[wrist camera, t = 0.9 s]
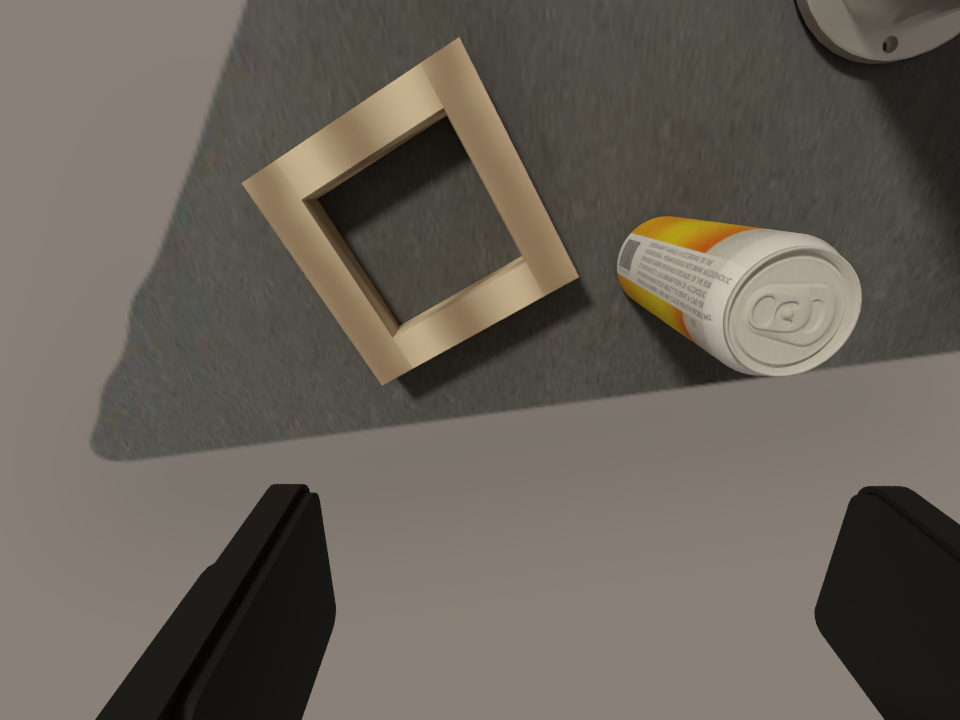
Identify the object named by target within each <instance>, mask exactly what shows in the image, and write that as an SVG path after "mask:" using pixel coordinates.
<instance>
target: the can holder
mask: <svg viewBox="0 0 960 720" xmlns="http://www.w3.org/2000/svg"><path fill="white" fill-rule="evenodd" d="M445 116H447V117H448V119H449V121H450V122H451V124H452V126H453V128H454V130H455V132H456V134H457V136H458V137H459V139H460V141H461V143H462V145H463V147H464V149H465V151H466V152H467V154H468V156H469V158H470V160H471V162H472V164H473V166H474V167H475V169H476V171H477V173H478V175H479V177H480V179H481V181H482V182H483V184H484V186H485V188H486V190H487V192H488V194H489V196H490V197H491V199H492V201H493V203H494V205H495V207H496V209H497V211H498V212H499V214H500V216H501V218H502V220H503V222H504V224H505V226H506V227H507V229H508V231H509V233H510V235H511V237H512V239H513V241H514V242H515V244H516V246H517V248H518V250H519V252H520V254H521V257H519V258H518V259H516V260H514V261H512V262H511V263H509V264H507V265H505V266H504V267H502V268H500V269H498V270H497V271H495V272H493V273H491V274H490V275H488V276H486V277H484V278H483V279H481V280H479V281H477V282H476V283H474V284H472V285H470V286H469V287H467V288H465V289H463V290H462V291H460V292H458V293H456V294H455V295H453V296H451V297H449V298H448V299H446V300H444V301H442V302H441V303H439V304H437V305H435V306H434V307H432V308H430V309H428V310H426V311H425V312H423V313H421V314H419V315H418V316H416V317H414V318H412V319H411V320H409V321H407V322H405V323H404V324H402V325H400V326H399V324H398V323H397V321H396V319H395V318H394V316H393V315H392V313H391V312H390V310H389V309H388V307H387V306H386V304H385V303H384V301H383V299H382V298H381V296H380V295H379V293H378V292H377V290H376V289H375V287H374V286H373V284H372V283H371V281H370V280H369V278H368V276H367V275H366V273H365V272H364V270H363V269H362V267H361V266H360V264H359V263H358V261H357V260H356V258H355V256H354V255H353V253H352V252H351V250H350V249H349V247H348V246H347V244H346V243H345V241H344V240H343V238H342V237H341V235H340V233H339V232H338V230H337V229H336V227H335V226H334V224H333V223H332V221H331V220H330V218H329V217H328V215H327V213H326V212H325V210H324V209H323V207H322V206H321V204H320V203H319V201H318V200H317V199H318V198H319V197H321V196H322V195H324V194H326V193H327V192H329V191H330V190H332V189H333V188H335V187H336V186H338V185H340V184H341V183H343V182H344V181H346V180H347V179H349V178H350V177H352V176H354V175H355V174H357V173H358V172H360V171H361V170H363V169H364V168H366V167H367V166H369V165H371V164H372V163H374V162H375V161H377V160H378V159H380V158H381V157H383V156H385V155H386V154H388V153H389V152H391V151H392V150H394V149H395V148H397V147H399V146H400V145H402V144H403V143H405V142H406V141H408V140H409V139H411V138H413V137H414V136H416V135H417V134H419V133H420V132H422V131H423V130H425V129H426V128H428V127H430V126H431V125H433V124H434V123H436V122H437V121H439V120H440V119H442V118H444V117H445ZM242 184H243V186H244V187H245V189H246V190H247V192H248V193H249V194H250V196H251V197H252V199H253V200H254V202H255V203H256V204H257V206H258V207H259V209H260V210H261V212H262V213H263V215H264V216H265V217H266V219H267V220H268V222H269V223H270V225H271V226H272V228H273V229H274V230H275V232H276V233H277V235H278V236H279V238H280V239H281V241H282V242H283V243H284V245H285V246H286V248H287V249H288V251H289V252H290V253H291V255H292V256H293V258H294V259H295V261H296V262H297V264H298V265H299V266H300V268H301V269H302V271H303V272H304V274H305V275H306V277H307V278H308V279H309V281H310V282H311V284H312V285H313V287H314V288H315V289H316V291H317V292H318V294H319V295H320V297H321V298H322V300H323V301H324V302H325V304H326V305H327V307H328V308H329V310H330V311H331V313H332V314H333V315H334V317H335V318H336V320H337V321H338V323H339V324H340V325H341V327H342V328H343V330H344V331H345V333H346V334H347V336H348V337H349V338H350V340H351V341H352V343H353V344H354V346H355V347H356V349H357V350H358V351H359V353H360V354H361V356H362V357H363V359H364V360H365V361H366V363H367V364H368V366H369V367H370V369H371V370H372V372H373V373H374V374H375V376H376V377H377V379H378V380H379V382H380V383H381V385H384V384H386V383H388V382H389V381H391V380H393V379H395V378H397V377H399V376H400V375H402V374H404V373H406V372H408V371H409V370H411V369H413V368H415V367H417V366H419V365H420V364H422V363H424V362H426V361H428V360H429V359H431V358H433V357H435V356H437V355H438V354H440V353H442V352H444V351H446V350H448V349H449V348H451V347H453V346H455V345H457V344H458V343H460V342H462V341H464V340H466V339H468V338H469V337H471V336H473V335H475V334H477V333H478V332H480V331H482V330H484V329H486V328H487V327H489V326H491V325H493V324H495V323H497V322H498V321H500V320H502V319H504V318H506V317H507V316H509V315H511V314H513V313H515V312H517V311H518V310H520V309H522V308H524V307H526V306H527V305H529V304H531V303H533V302H535V301H536V300H538V299H540V298H542V297H544V296H546V295H547V294H549V293H551V292H553V291H555V290H556V289H558V288H560V287H562V286H564V285H566V284H567V283H569V282H571V281H573V280H575V279H576V278H578V277H579V276H578V274H577V272H576V270H575V268H574V266H573V264H572V262H571V260H570V258H569V256H568V254H567V252H566V250H565V248H564V246H563V244H562V242H561V240H560V238H559V236H558V234H557V232H556V230H555V228H554V226H553V224H552V222H551V220H550V218H549V216H548V214H547V212H546V210H545V208H544V206H543V204H542V202H541V200H540V198H539V196H538V194H537V192H536V190H535V188H534V186H533V184H532V182H531V180H530V178H529V176H528V174H527V172H526V170H525V168H524V166H523V164H522V162H521V160H520V158H519V156H518V154H517V152H516V150H515V148H514V146H513V144H512V142H511V140H510V138H509V136H508V134H507V132H506V130H505V128H504V126H503V124H502V122H501V120H500V118H499V116H498V114H497V112H496V110H495V108H494V106H493V104H492V102H491V100H490V98H489V96H488V94H487V92H486V90H485V88H484V86H483V84H482V82H481V80H480V78H479V76H478V74H477V72H476V70H475V68H474V66H473V64H472V62H471V60H470V58H469V56H468V54H467V52H466V50H465V48H464V46H463V44H462V42H461V40H460V38H457V39H456V40H454V41H453V42H451V43H450V44H448V45H447V46H445V47H444V48H442V49H441V50H439V51H438V52H436V53H435V54H433V55H432V56H430V57H429V58H427V59H426V60H424V61H423V62H421V63H420V64H419V65H417V66H416V67H414V68H413V69H411V70H410V71H408V72H407V73H405V74H404V75H402V76H401V77H399V78H398V79H396V80H395V81H393V82H392V83H390V84H389V85H387V86H386V87H384V88H383V89H381V90H380V91H378V92H377V93H375V94H374V95H372V96H371V97H369V98H368V99H366V100H365V101H363V102H362V103H360V104H359V105H357V106H356V107H355V108H353V109H352V110H350V111H349V112H347V113H346V114H344V115H343V116H341V117H340V118H338V119H337V120H335V121H334V122H332V123H331V124H329V125H328V126H326V127H325V128H323V129H322V130H320V131H319V132H317V133H316V134H314V135H313V136H311V137H310V138H308V139H307V140H305V141H304V142H302V143H301V144H299V145H298V146H296V147H295V148H293V149H292V150H291V151H289V152H288V153H286V154H285V155H283V156H282V157H280V158H279V159H277V160H276V161H274V162H273V163H271V164H270V165H268V166H267V167H265V168H264V169H262V170H261V171H259V172H258V173H256V174H255V175H253V176H252V177H250V178H249V179H247V180H246V181H244V182H243V183H242Z"/></svg>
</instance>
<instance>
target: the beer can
mask: <svg viewBox="0 0 960 720" xmlns="http://www.w3.org/2000/svg"><path fill="white" fill-rule="evenodd" d="M617 274H618V279H619V282H620V284H621V287H622V288H623V290H624V292H625V293H626V294H627V295H628V296H629V297H630V298H631V299H632V300H634V301H635V302H637V303H638V304H640V305H641V306H642V307H644V308H645V309H647V310H648V311H650V312H651V313H652V314H654V315H655V316H657V317H658V318H660V319H661V320H662V321H664V322H665V323H667V324H668V325H670V326H671V327H672V328H674V329H675V330H677V331H678V332H679V333H681V334H682V335H684V336H685V337H687V338H688V339H689V340H691V341H692V342H694V343H695V344H697V345H698V346H699V347H701V348H702V349H704V350H705V351H707V352H708V353H709V354H711V355H712V356H714V357H715V358H717V359H718V360H719V361H721V362H722V363H724V364H725V365H727V366H728V367H730V368H732V369H734V370H736V371H738V372H741V373H745V374H749V375H756V376H766V375H767V376H791V375H796V374H799V373H803V372H806V371H808V370H810V369H813V368H815V367H817V366H818V365H820V364H822V363H823V362H825V361H826V360H828V359H829V358H830V357H831V356H833V355H834V354H835V353H836V352H837V351H838V350H839V349H840V348H841V347H842V346H843V344H844V343H845V342H846V340H847V339H848V338H849V336H850V335H851V333H852V331H853V329H854V327H855V325H856V323H857V320H858V317H859V314H860V310H861V302H862V292H861V285H860V282H859V279H858V276H857V274H856V272H855V271H854V269H853V267H852V266H851V265H850V264H849V263H848V262H847V261H846V260H845V259H844V258H843V257H842V256H840V254H839V253H838V252H837V251H836V250H835V249H834V248H833V247H832V246H831V245H829V244H828V243H826V242H825V241H823V240H821V239H819V238H817V237H814V236H810V235H807V234H800V233H793V232H785V231H778V230H770V229H763V228H755V227H748V226H740V225H733V224H725V223H717V222H710V221H702V220H695V219H687V218H680V217H672V216H664V217H658V218H654V219H651V220H649V221H647V222H645V223H643V224H641V225H640V226H638V227H637V228H636V229H635V230H634V231H633V232H632V233H631V234H630V235H629V236H628V237H627V239H626V240H625V242H624V244H623V245H622V247H621V250H620V252H619V256H618V261H617Z"/></svg>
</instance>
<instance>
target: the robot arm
mask: <svg viewBox="0 0 960 720" xmlns="http://www.w3.org/2000/svg"><path fill="white" fill-rule="evenodd" d="M796 1H797V5H798V8H799V10H800V12H801V14H802V17H803V19H804V21H805V23H806V25H807V27H808V28H809V29H810V31H811V32H812V33H813V35H814V36H815V37H816V38H817V40H818V41H819V42H820V43H821V44H823V45H824V46H825V47H826V48H828V49H829V50H830V51H831V52H833V53H834V54H837V55H839V56H841V57H843V58H845V59H848V60H850V61H854V62H860V63H865V64H884V63H892V62H896V61H900V60H904V59H908V58H911V57H914V56H917V55H920V54H923V53H925V52H928V51H931V50H933V49H935V48H937V47H939V46H940V45H942V44H944V43H946V42H947V41H949V40H951V39H953V38H954V37H955V36H957V35H958V34H959V33H960V0H796ZM814 613H815V620H816V624H817V626H818V629H819V631H820V632H821V634H822V635H823V637H824V638H825V639H826V641H827V642H828V643H829V645H830V646H831V648H832V649H833V650H834V652H835V653H836V654H837V656H838V657H839V658H840V660H841V661H842V662H843V664H844V665H845V666H846V668H847V669H848V671H849V672H850V673H851V675H852V676H853V677H854V679H855V680H856V681H857V683H858V684H859V686H860V687H861V688H862V690H863V691H864V692H865V694H866V695H867V696H868V698H869V699H870V700H871V702H872V703H873V705H874V706H875V707H876V709H877V710H878V711H879V713H880V714H881V715H882V717H883V718H884V720H960V525H959V524H958V523H957V522H955V521H954V520H953V519H951V518H950V517H948V516H947V515H946V514H944V513H943V512H941V511H940V510H939V509H937V508H936V507H935V506H933V505H932V504H931V503H929V502H928V501H926V500H925V499H924V498H922V497H921V496H920V495H918V494H917V493H916V492H914V491H912V490H910V489H909V488H906V487H901V486H868V487H863V488H862V489H861V490H860V491H859V492H858V494H857V495H855V496H854V497H852V498H851V500H850V502H849V504H848V508H847V511H846V514H845V517H844V520H843V523H842V526H841V529H840V532H839V535H838V539H837V542H836V545H835V548H834V551H833V554H832V557H831V560H830V563H829V567H828V570H827V573H826V576H825V579H824V582H823V585H822V589H821V591H820V595H819V598H818V601H817V604H816V607H815V612H814ZM335 615H336V605H335V598H334V591H333V585H332V578H331V571H330V565H329V558H328V552H327V545H326V538H325V532H324V525H323V518H322V512H321V505H320V499H319V496H318V494H317V493H310V491H309V488H308V486H307V485H305V484H274V485H271V486H270V487H269V488H268V489H267V491H266V492H265V494H264V495H263V496H262V498H261V499H260V501H259V502H258V503H257V505H256V506H255V508H254V509H253V510H252V512H251V513H250V514H249V516H248V517H247V519H246V520H245V522H244V523H243V524H242V526H241V527H240V529H239V530H238V531H237V533H236V534H235V535H234V537H233V538H232V540H231V541H230V542H229V544H228V545H227V547H226V548H225V550H224V551H223V552H222V554H221V555H220V556H219V558H218V559H217V561H216V562H215V563H214V564H212V565H211V566H209V567H207V569H206V570H205V571H204V572H203V573H202V574H201V575H200V576H199V578H198V579H197V581H196V582H195V583H194V585H193V586H192V587H191V589H190V590H189V592H188V593H187V594H186V596H185V597H184V598H183V600H182V601H181V602H180V604H179V605H178V607H177V608H176V609H175V611H174V612H173V614H172V615H171V616H170V618H169V619H168V620H167V622H166V623H165V625H164V626H163V627H162V629H161V630H160V631H159V633H158V634H157V635H156V637H155V638H154V640H153V641H152V642H151V644H150V645H149V646H148V648H147V649H146V651H145V652H144V653H143V655H142V656H141V657H140V659H139V660H138V661H137V663H136V664H135V666H134V667H133V668H132V670H131V671H130V672H129V674H128V675H127V677H126V678H125V679H124V681H123V682H122V684H121V685H120V686H119V688H118V689H117V690H116V692H115V693H114V694H113V696H112V697H111V699H110V700H109V701H108V703H107V704H106V705H105V707H104V708H103V710H102V711H101V713H100V714H99V715H98V716H97V718H96V719H95V720H302V717H303V714H304V711H305V708H306V705H307V703H308V699H309V697H310V694H311V691H312V688H313V685H314V682H315V679H316V676H317V674H318V671H319V668H320V665H321V662H322V659H323V656H324V653H325V650H326V647H327V644H328V642H329V639H330V636H331V633H332V630H333V626H334V622H335Z"/></svg>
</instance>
